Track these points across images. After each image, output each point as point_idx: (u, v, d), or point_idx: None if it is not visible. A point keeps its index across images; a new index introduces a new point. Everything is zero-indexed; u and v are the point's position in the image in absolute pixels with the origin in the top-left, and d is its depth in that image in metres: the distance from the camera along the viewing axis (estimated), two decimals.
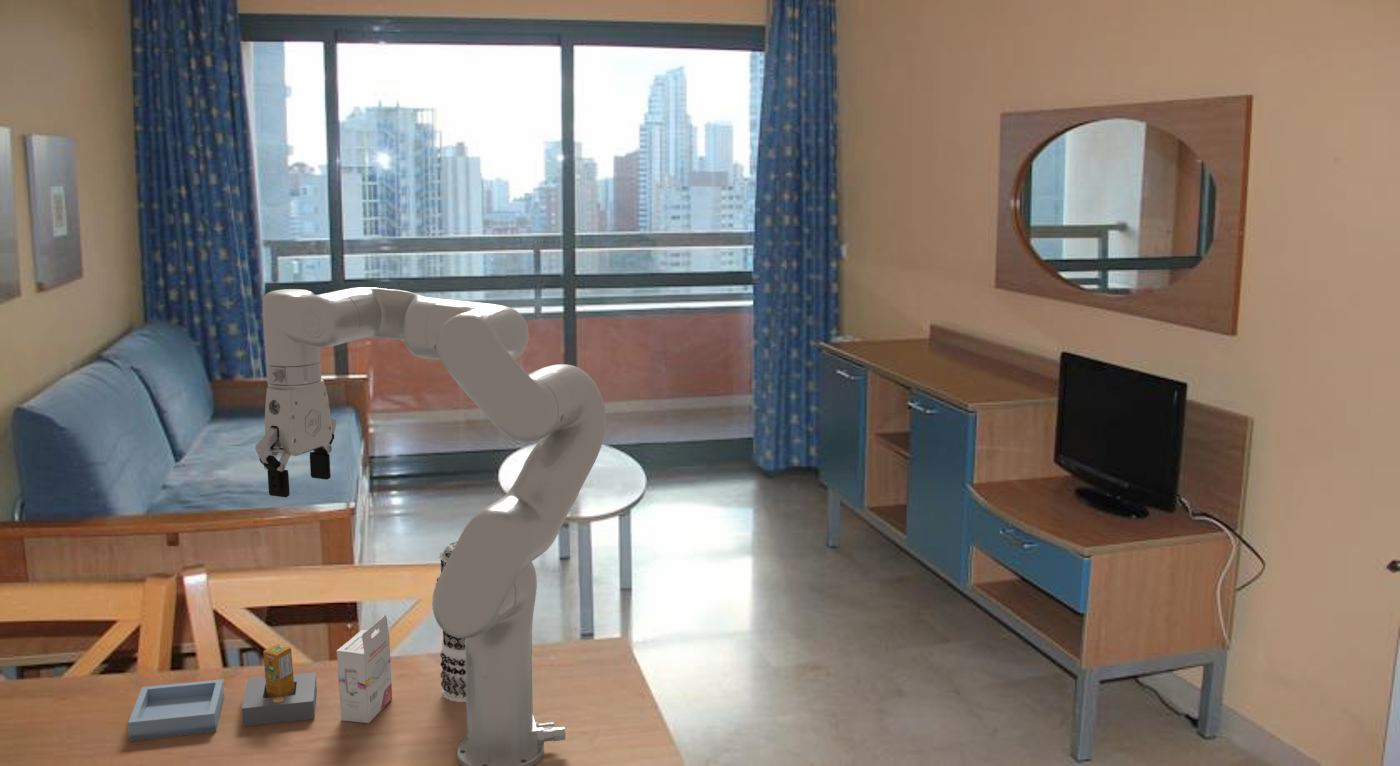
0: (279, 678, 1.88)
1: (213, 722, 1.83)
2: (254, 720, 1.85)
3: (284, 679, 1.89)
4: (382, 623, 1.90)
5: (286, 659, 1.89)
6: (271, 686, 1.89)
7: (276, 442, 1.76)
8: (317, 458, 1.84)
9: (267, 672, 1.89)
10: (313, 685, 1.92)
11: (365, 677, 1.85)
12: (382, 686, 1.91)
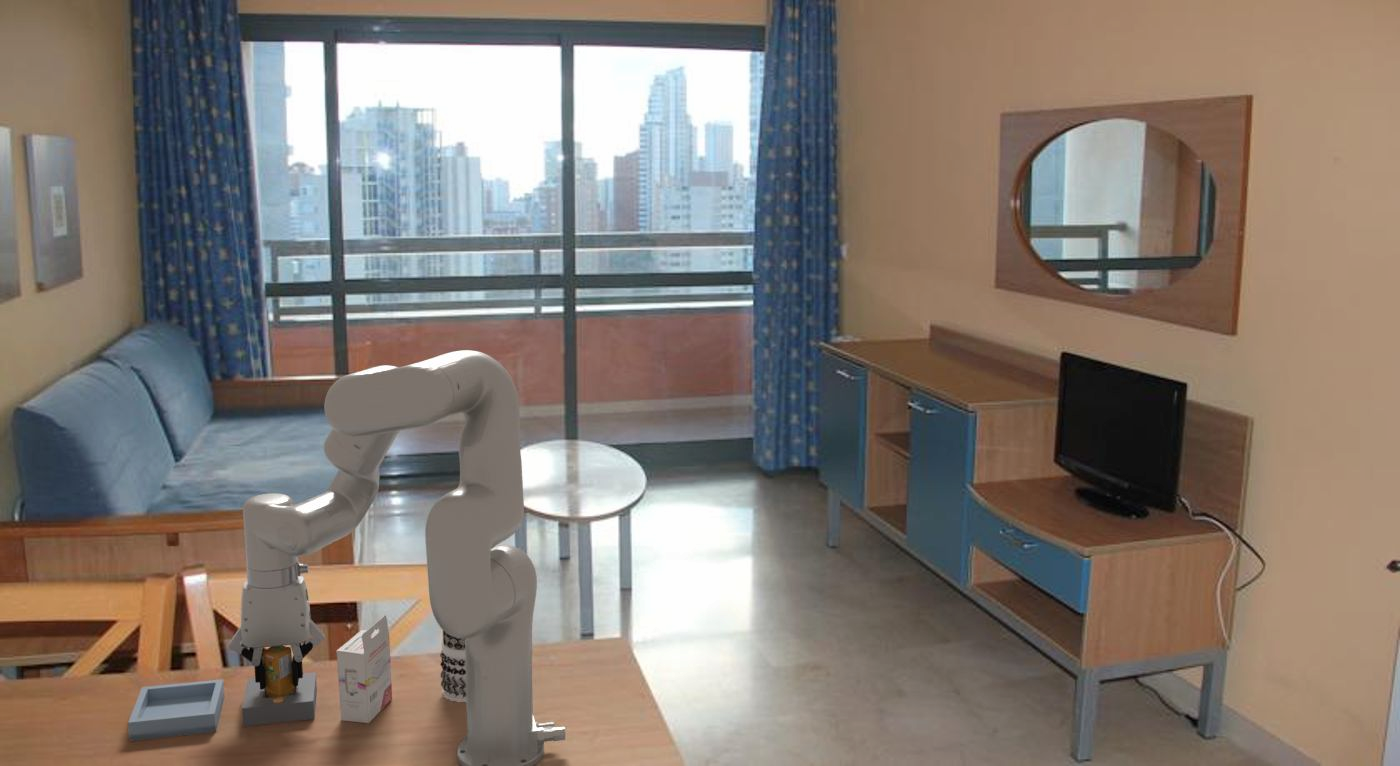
0: (279, 678, 1.88)
1: (213, 722, 1.83)
2: (254, 720, 1.85)
3: (283, 678, 1.89)
4: (382, 623, 1.90)
5: (286, 659, 1.89)
6: (271, 686, 1.89)
7: None
8: None
9: (267, 672, 1.89)
10: (313, 685, 1.92)
11: (365, 677, 1.85)
12: (382, 686, 1.91)
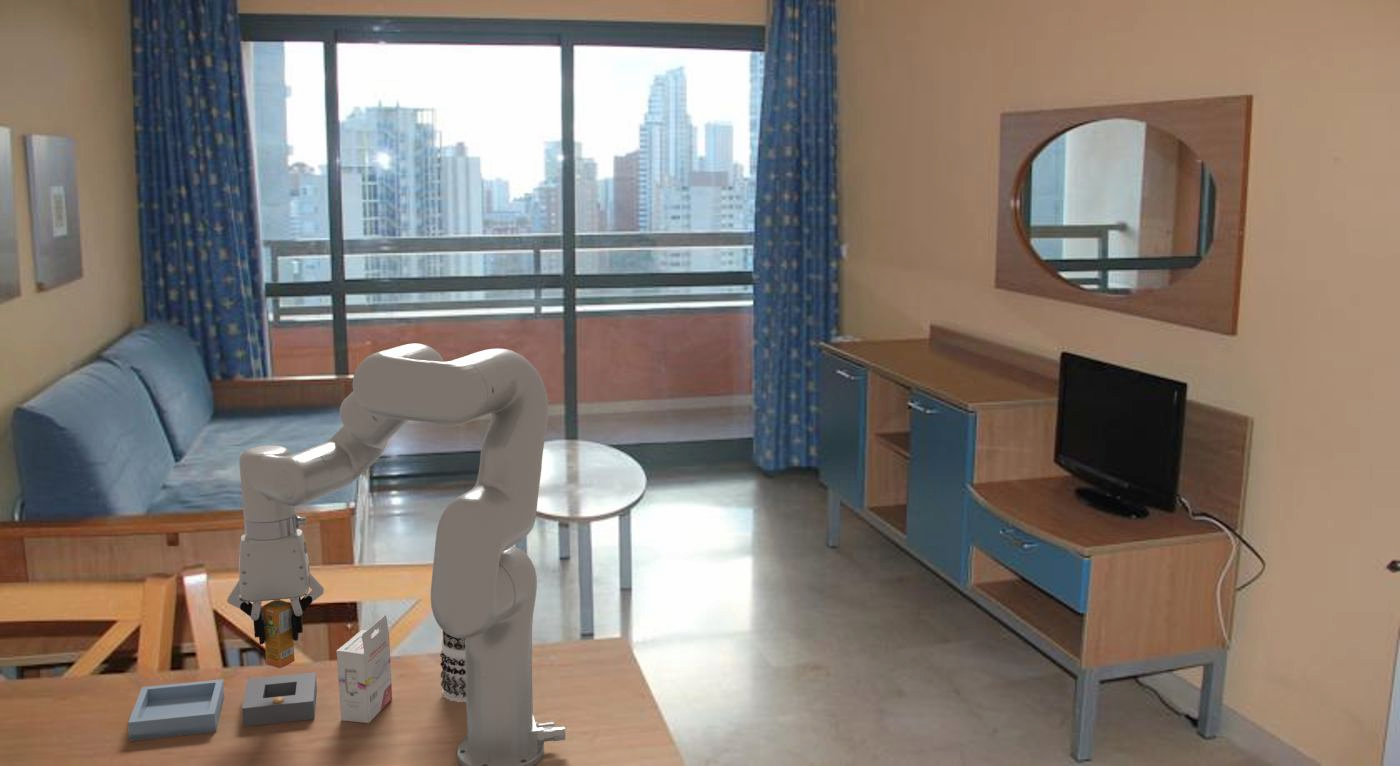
0: (279, 633, 1.86)
1: (213, 722, 1.83)
2: (254, 720, 1.85)
3: (283, 634, 1.87)
4: (382, 623, 1.90)
5: (286, 614, 1.87)
6: (270, 641, 1.87)
7: None
8: (263, 621, 1.88)
9: (267, 627, 1.87)
10: (313, 685, 1.92)
11: (365, 677, 1.85)
12: (382, 686, 1.91)
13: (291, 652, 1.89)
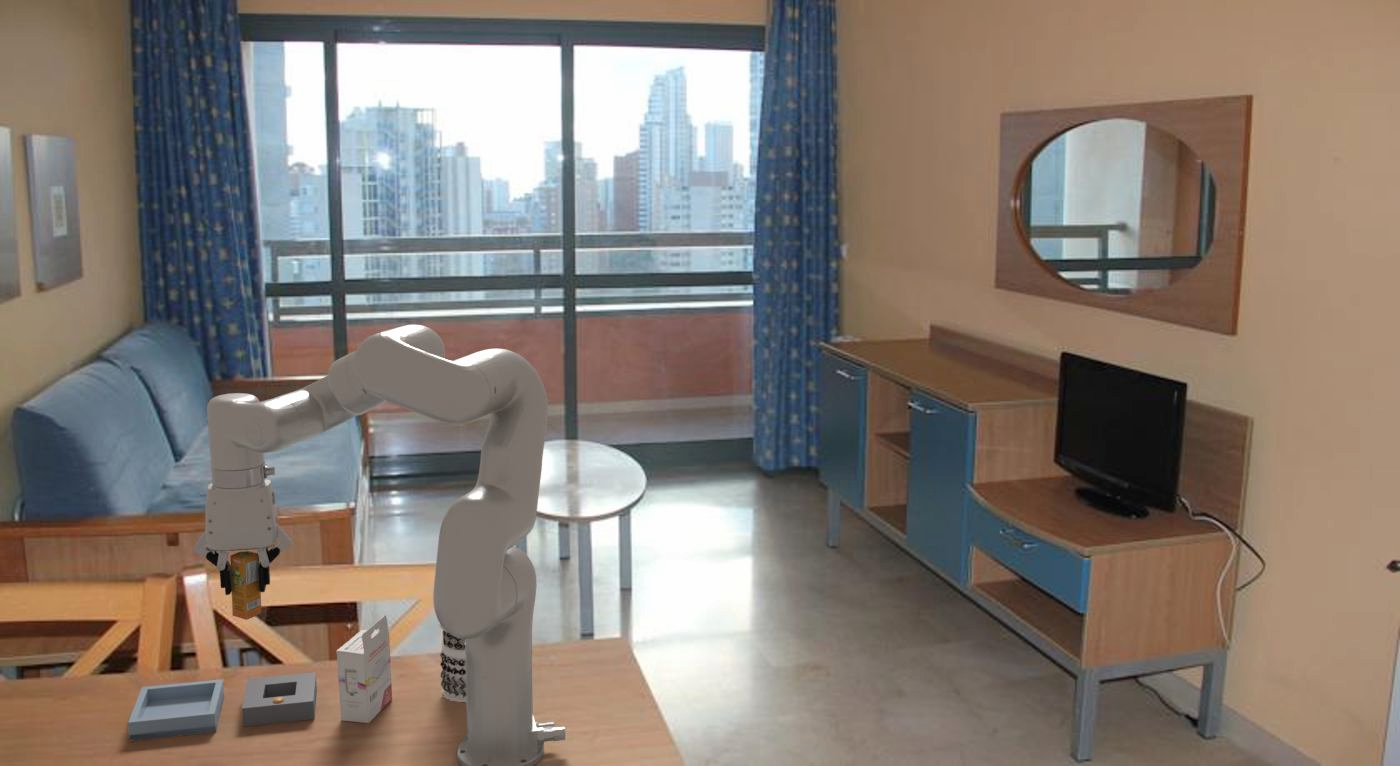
0: (245, 584, 1.84)
1: (213, 722, 1.83)
2: (254, 720, 1.85)
3: (250, 585, 1.85)
4: (382, 623, 1.90)
5: (253, 565, 1.85)
6: (237, 592, 1.85)
7: None
8: (230, 571, 1.85)
9: (233, 577, 1.85)
10: (313, 685, 1.92)
11: (365, 677, 1.85)
12: (382, 686, 1.91)
13: (258, 604, 1.87)
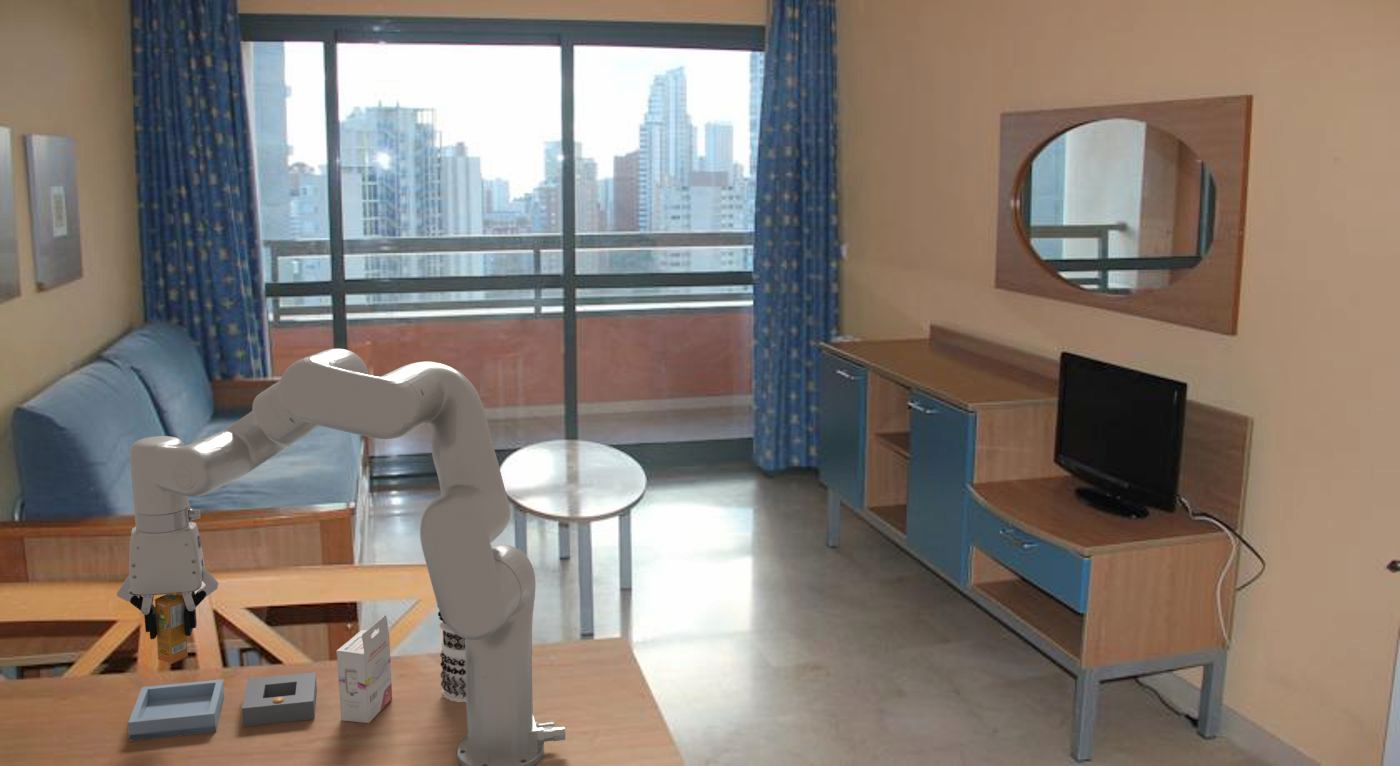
0: (170, 628, 1.82)
1: (213, 722, 1.83)
2: (254, 720, 1.85)
3: (175, 628, 1.83)
4: (382, 623, 1.90)
5: (178, 608, 1.83)
6: (162, 636, 1.83)
7: None
8: (155, 615, 1.83)
9: (158, 621, 1.83)
10: (313, 685, 1.92)
11: (365, 677, 1.85)
12: (382, 686, 1.91)
13: (184, 647, 1.85)
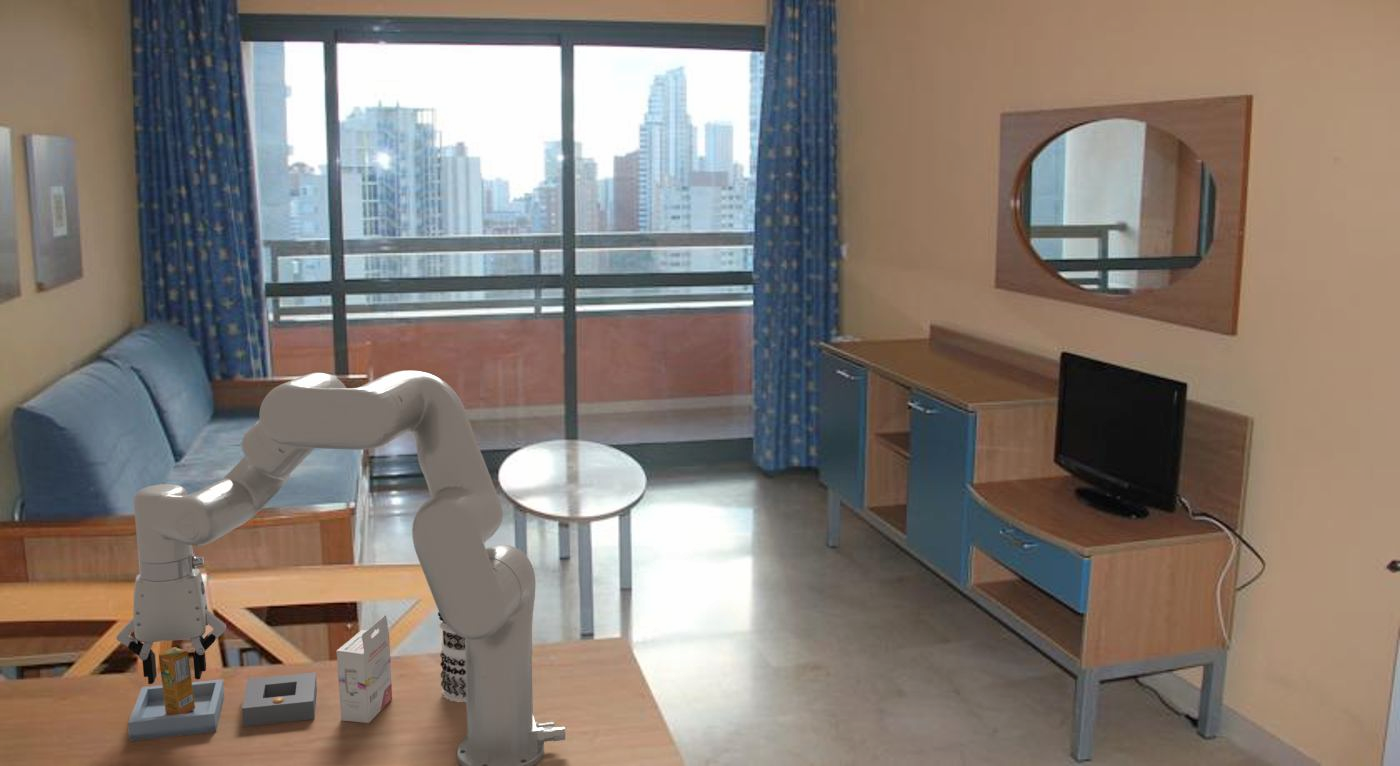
0: (175, 682, 1.84)
1: (213, 722, 1.83)
2: (254, 720, 1.85)
3: (180, 682, 1.85)
4: (382, 623, 1.90)
5: (182, 662, 1.85)
6: (168, 690, 1.85)
7: None
8: (153, 660, 1.85)
9: (163, 676, 1.85)
10: (313, 685, 1.92)
11: (365, 677, 1.85)
12: (382, 686, 1.91)
13: (191, 700, 1.87)
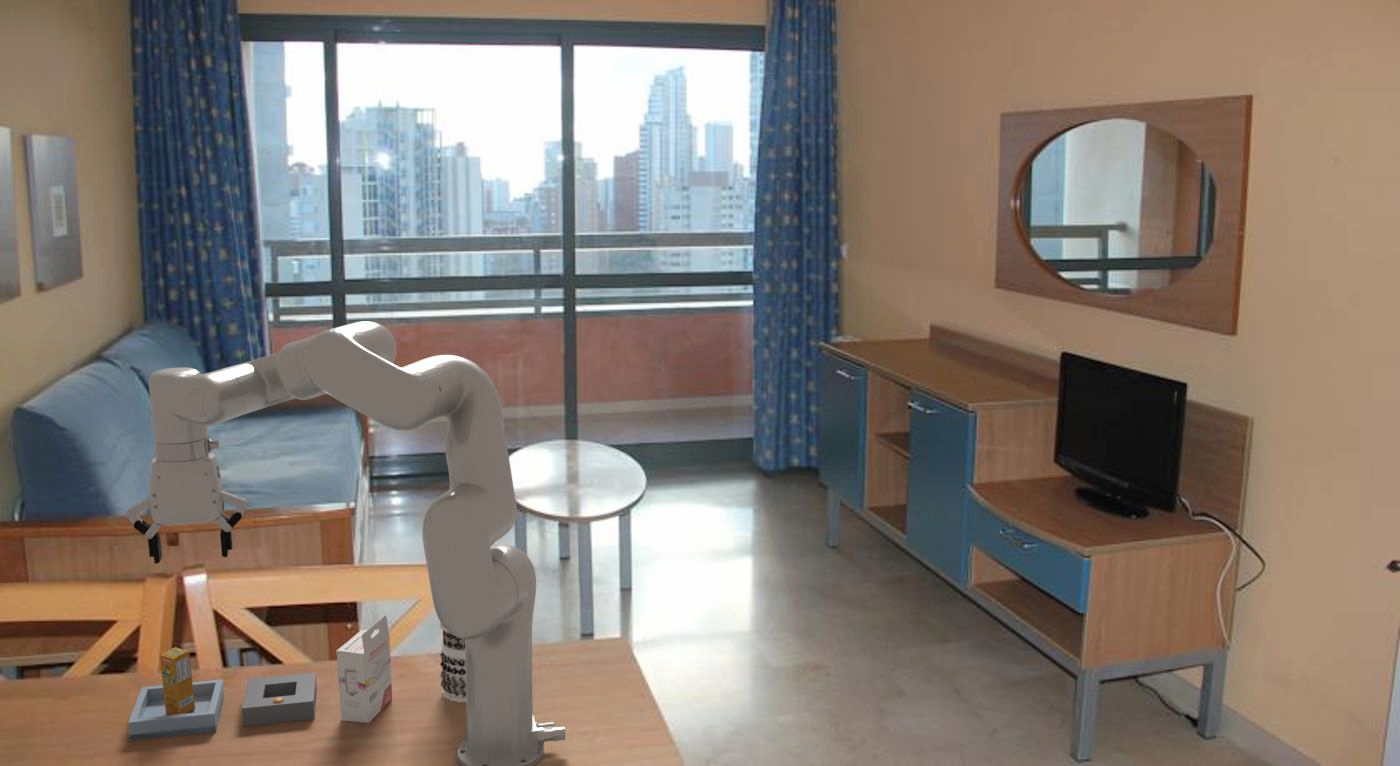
0: (176, 682, 1.84)
1: (213, 722, 1.83)
2: (254, 720, 1.85)
3: (181, 683, 1.85)
4: (382, 623, 1.90)
5: (184, 663, 1.85)
6: (169, 691, 1.85)
7: None
8: (158, 540, 1.85)
9: (164, 676, 1.85)
10: (313, 685, 1.92)
11: (365, 677, 1.85)
12: (382, 686, 1.91)
13: (191, 700, 1.87)
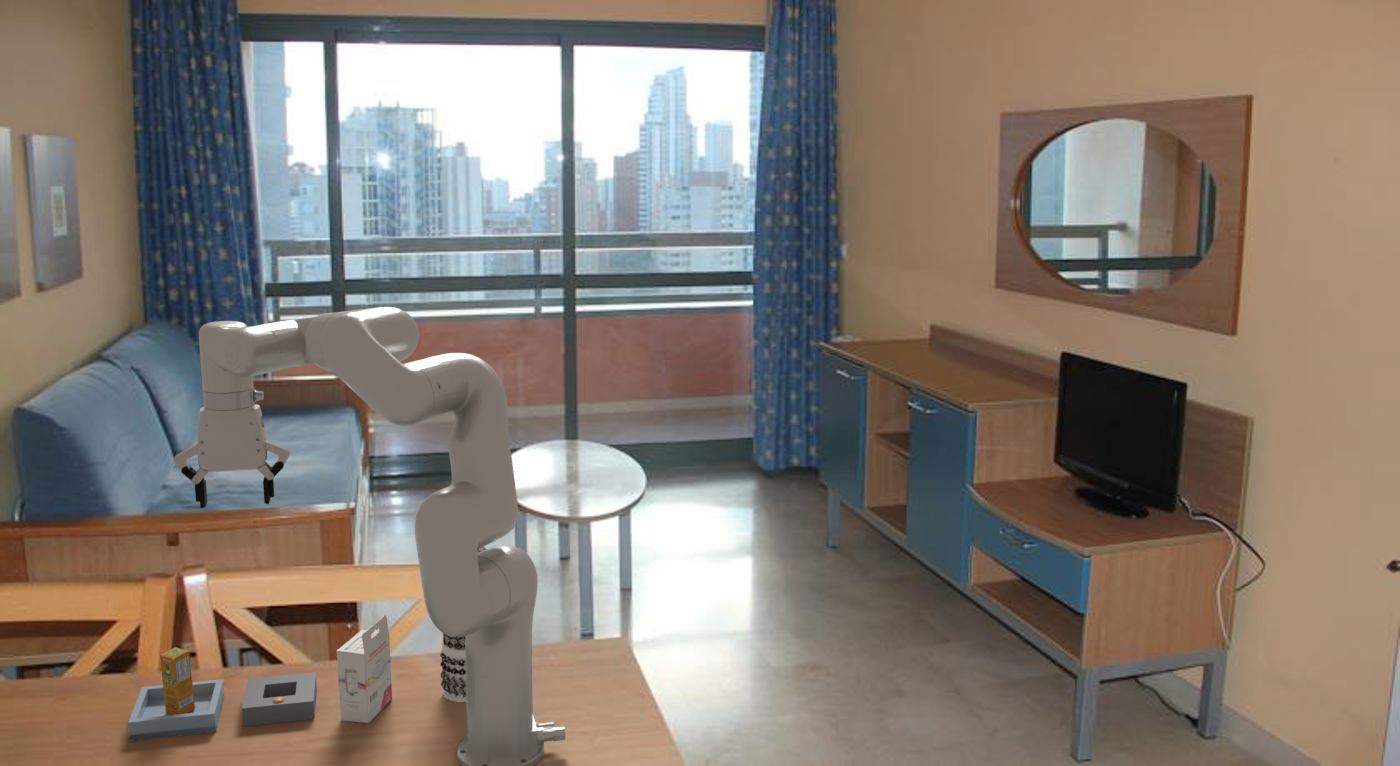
0: (176, 682, 1.84)
1: (213, 722, 1.83)
2: (254, 720, 1.85)
3: (181, 683, 1.85)
4: (382, 623, 1.90)
5: (184, 663, 1.85)
6: (169, 691, 1.85)
7: None
8: (204, 486, 1.93)
9: (164, 676, 1.85)
10: (313, 685, 1.92)
11: (365, 677, 1.85)
12: (382, 686, 1.91)
13: (191, 700, 1.87)
